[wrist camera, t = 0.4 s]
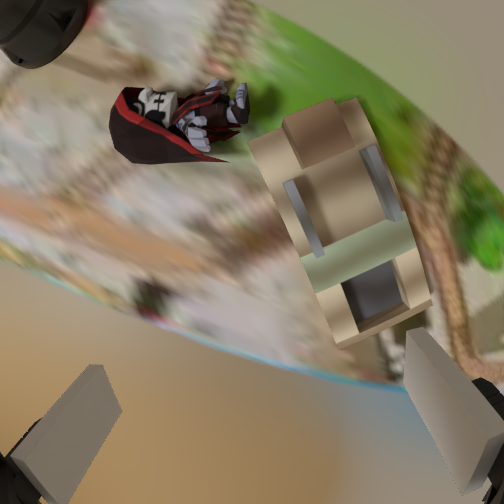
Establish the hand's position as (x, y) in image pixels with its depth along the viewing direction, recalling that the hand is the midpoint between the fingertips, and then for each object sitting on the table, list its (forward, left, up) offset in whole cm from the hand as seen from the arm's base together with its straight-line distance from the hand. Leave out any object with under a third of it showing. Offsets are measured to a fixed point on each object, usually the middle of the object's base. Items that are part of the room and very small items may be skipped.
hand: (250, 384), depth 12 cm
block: (-9, +10, -23) cm, 27 cm away
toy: (-17, -2, -27) cm, 31 cm away
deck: (+1, +10, -26) cm, 28 cm away
